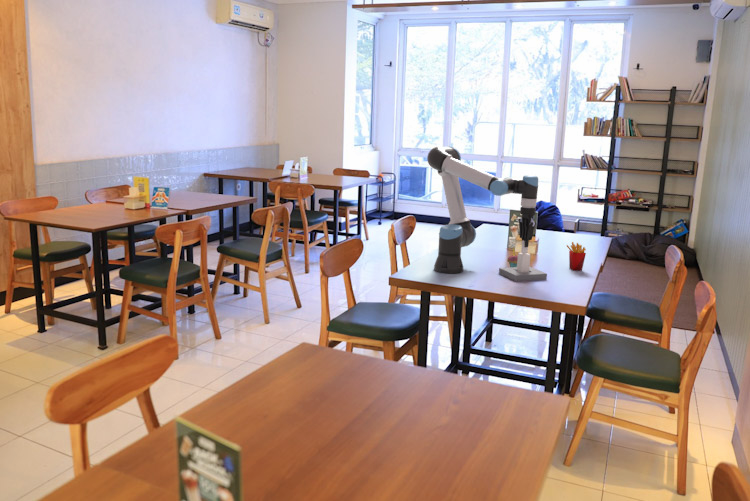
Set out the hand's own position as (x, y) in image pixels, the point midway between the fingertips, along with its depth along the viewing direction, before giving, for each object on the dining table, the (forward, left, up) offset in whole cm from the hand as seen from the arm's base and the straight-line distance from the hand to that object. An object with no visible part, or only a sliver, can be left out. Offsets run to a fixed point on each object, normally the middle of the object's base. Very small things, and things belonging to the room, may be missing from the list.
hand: (524, 252), depth 323 cm
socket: (0, 0, -12) cm, 12 cm away
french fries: (+37, +7, -13) cm, 40 cm away
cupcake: (+6, +17, -13) cm, 22 cm away
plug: (0, 0, -12) cm, 12 cm away
